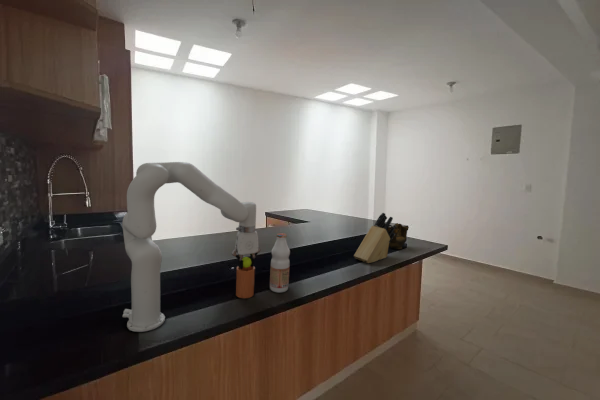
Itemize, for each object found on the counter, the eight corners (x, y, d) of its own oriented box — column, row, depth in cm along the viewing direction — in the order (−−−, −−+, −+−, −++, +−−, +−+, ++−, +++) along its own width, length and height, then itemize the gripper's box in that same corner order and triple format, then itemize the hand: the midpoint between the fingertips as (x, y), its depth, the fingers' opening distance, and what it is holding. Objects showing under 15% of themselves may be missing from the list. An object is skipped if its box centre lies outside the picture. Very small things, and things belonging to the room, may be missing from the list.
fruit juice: (268, 292, 141) (271, 236, 138) (270, 284, 151) (273, 231, 147) (287, 293, 141) (290, 237, 138) (288, 285, 151) (291, 232, 147)
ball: (239, 268, 134) (239, 258, 133) (242, 265, 139) (242, 255, 138) (249, 269, 134) (250, 259, 133) (252, 266, 139) (252, 255, 138)
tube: (233, 297, 134) (234, 270, 132) (238, 289, 142) (239, 264, 141) (251, 299, 134) (252, 271, 132) (255, 291, 142) (256, 265, 140)
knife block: (394, 255, 212) (399, 213, 208) (367, 265, 188) (371, 218, 184) (380, 251, 220) (384, 211, 216) (352, 260, 196) (356, 215, 192)
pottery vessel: (393, 251, 221) (396, 226, 218) (380, 248, 228) (383, 223, 226) (409, 246, 237) (412, 223, 235) (397, 243, 245) (399, 220, 243)
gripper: (233, 232, 126) (232, 273, 128) (267, 229, 136) (265, 266, 138) (226, 228, 132) (225, 267, 134) (259, 225, 142) (258, 261, 144)
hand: (246, 266), depth 136 cm, fingers closed on ball, 4 cm apart
